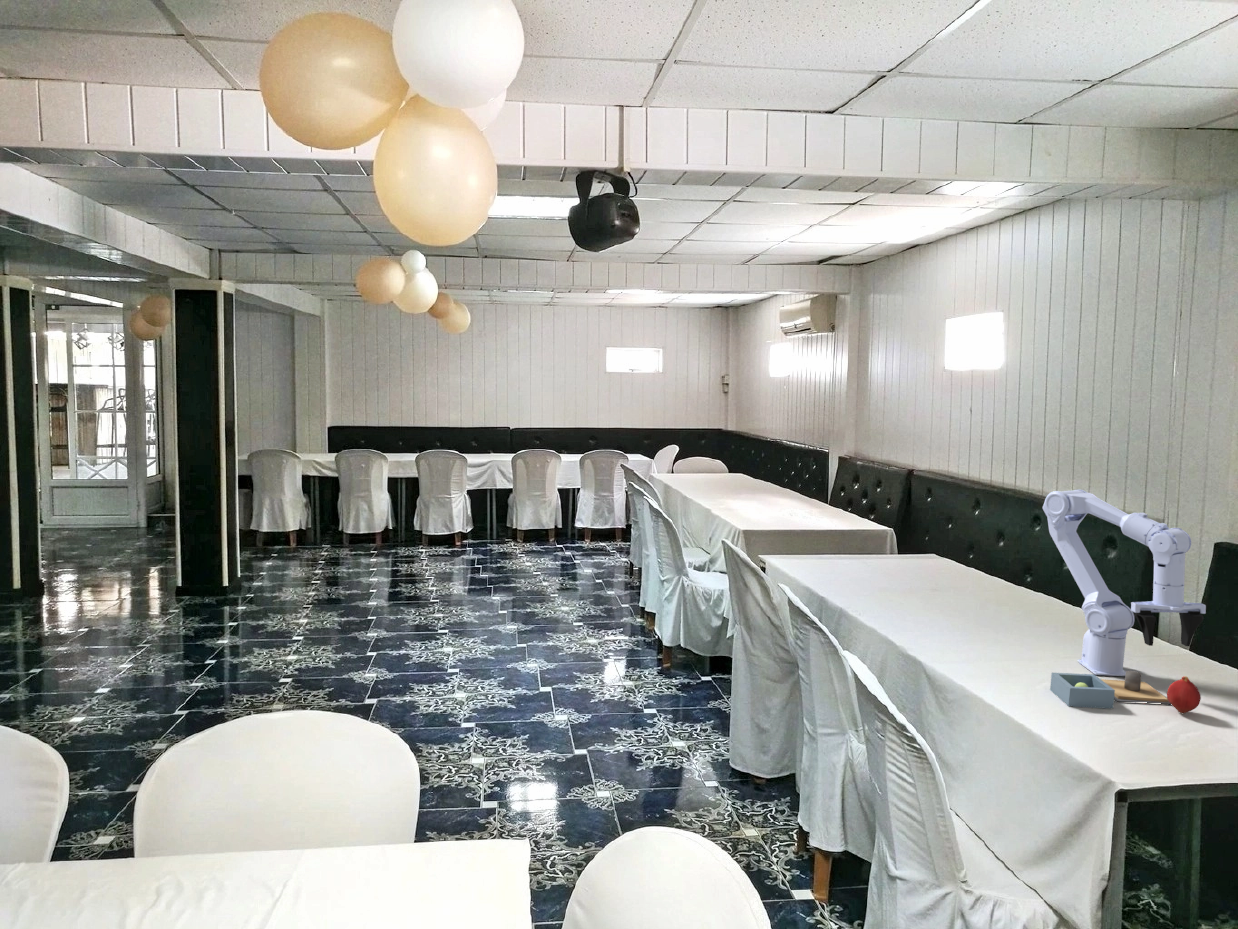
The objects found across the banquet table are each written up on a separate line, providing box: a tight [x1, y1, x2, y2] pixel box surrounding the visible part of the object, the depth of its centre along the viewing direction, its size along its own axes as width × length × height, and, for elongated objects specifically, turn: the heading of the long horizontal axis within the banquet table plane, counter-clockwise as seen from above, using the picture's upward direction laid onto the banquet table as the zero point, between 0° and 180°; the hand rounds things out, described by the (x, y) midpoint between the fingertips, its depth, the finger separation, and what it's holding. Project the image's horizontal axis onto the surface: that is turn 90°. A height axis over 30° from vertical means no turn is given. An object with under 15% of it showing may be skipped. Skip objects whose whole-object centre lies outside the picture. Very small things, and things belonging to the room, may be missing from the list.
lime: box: [1075, 682, 1088, 687], centre depth 182 cm, size 3×3×3 cm
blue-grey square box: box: [1049, 672, 1115, 709], centre depth 182 cm, size 9×9×4 cm
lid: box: [1100, 670, 1168, 702], centre depth 186 cm, size 10×10×4 cm
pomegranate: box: [1166, 675, 1201, 714], centre depth 176 cm, size 6×6×8 cm
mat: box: [1114, 686, 1171, 704], centre depth 187 cm, size 12×12×1 cm
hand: (1167, 644), depth 187 cm, fingers open, 7 cm apart
